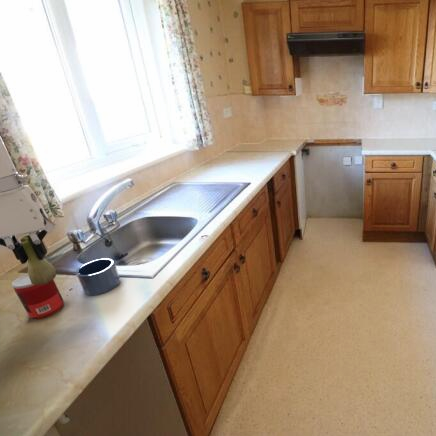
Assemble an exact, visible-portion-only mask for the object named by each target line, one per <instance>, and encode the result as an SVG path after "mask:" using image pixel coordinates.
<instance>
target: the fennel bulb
mask: <svg viewBox="0 0 436 436" xmlns="http://www.w3.org/2000/svg"><path fill="white" fill-rule="evenodd" d="M20 243H22V246H23V248H24V250H25V252H26V253H27V256H28V260H27V273H28V275H29V278H30V280H31V283H32V284H34V285H42V284H46V283H48V282H50V281H51V280H53V279H54V280H55V278H56V276H57V270H56V268H55V267H54V266H53V265H52V264H51V263H50V262H49V261H48V260H47V259H46V258H44V259H43V260H39V259H38V257H37V255H36V253H35V251H34V249H33V247H32V245H33V241H32V239H31V237H30V235H29V234H28V233H26V234H25V235H23V236H22V238H21V239H20Z"/></svg>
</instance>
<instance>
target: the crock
mask: <svg viewBox="0 0 436 436" xmlns="http://www.w3.org/2000/svg"><path fill="white" fill-rule="evenodd" d="M75 274H76V278H77V279H78V282H79V285H80V287H81V289H82V291H83V292H84V294H85V295H87V296H100V295H103V294H106V293H108V292H110V291H112V290H114V289H115V288H116V287H118V286H119V285H120V283H121V276H120V275H119V274H120V273H119V272H118V269H117V266H116V264H115V261H114V260H113V259H112V258H107V257H105V258H99V259H94V260H92V261H89V262H86V263H84V264H83V265H81V266H80V267H79V268H77V269H76V271H75Z"/></svg>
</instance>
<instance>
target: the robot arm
mask: <svg viewBox="0 0 436 436" xmlns="http://www.w3.org/2000/svg"><path fill="white" fill-rule="evenodd" d="M29 181H30V178H29V176H28V175H27V174H25V175H23V174H20V172H18V171H17V169H16V167H15V165H14V162H13V159H12V158H11V156H10V154H9V152H8V149H7V147H6V144H5V143H4V140H3V138H2V135H0V246H3V247H6V248H7V249H8V250H11V251H12V253H13V255H14V257H15V258H16V260H17V261H19V262H20V264H21V265H24V264H26V263H28V256H27V253H26V252H25V250H24V248H23V246H22V242H21V241H20V242H19V239H18V237H17V236H20V235H24V234H25V235H26V234H29V235H30V237H31V239H32V241H33V245H32V247H33V249H34V251H35V253H36V255H37V257H38V259H39V260H43V259H45V257H46V255H47V254H48V250H47V247H46V245H45V243H44V239H45V237H46V236H47V235H48V234H50V233H51V232H53V231H54V230H55V229H56V228H57V224H56V223H54V221H52V220H50V218H49V216H48V214H47V211H46V210H45V208H44V206H43V205H42V203H41V201H40V200H39V198H38V196H37V195H36V193H35V191H34V190H33V189H32V187H30V185H29V184H24V183H26V182H29Z"/></svg>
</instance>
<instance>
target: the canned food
mask: <svg viewBox="0 0 436 436" xmlns="http://www.w3.org/2000/svg"><path fill="white" fill-rule="evenodd" d="M11 286H12V288H13V290H14V292H15V294H16V295H17V297H18V299H19V301H20V303H21V305H22V306H23V308H24V310H25V311H26V314H27V315H28V316H29V317H30V318H31V319H35V320H36V319H38V320H39V319H42V318H47V317H49V316H51V315H54V314H55V313H57V312H59V310H61V309H62V308H63V307H64V304H65V301H64V299H63V296H62V294H61V292H60V290H59V287H58V285H57V284H56V281H55V278H54V279H53V280H51V281H50V282H48V283H46V284H42V285H34V284H32V283H31V280H30V278H29V275H28V272H26V273H25V274H22V275H21V276H18V277H17V278H16V279H14V280H13V281H12V283H11Z"/></svg>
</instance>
